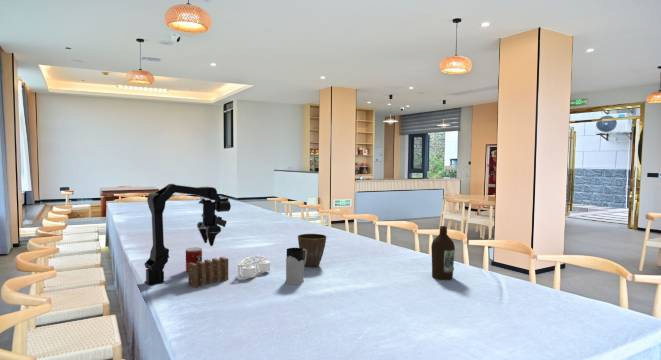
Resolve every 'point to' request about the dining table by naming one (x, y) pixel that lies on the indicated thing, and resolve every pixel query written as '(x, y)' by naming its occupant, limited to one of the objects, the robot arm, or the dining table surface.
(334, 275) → the dining table surface
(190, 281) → the tile
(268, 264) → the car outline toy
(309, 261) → the plant pot
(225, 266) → the tile
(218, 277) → the tile
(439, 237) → the olive oil
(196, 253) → the canned food
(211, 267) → the tile
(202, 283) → the tile
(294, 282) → the tall mug
